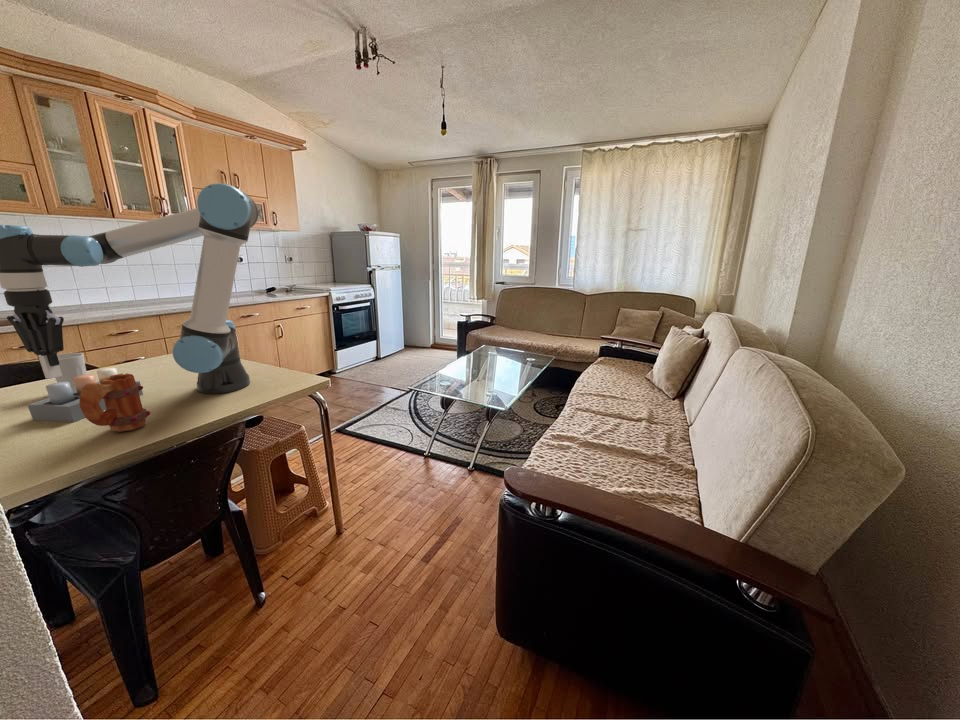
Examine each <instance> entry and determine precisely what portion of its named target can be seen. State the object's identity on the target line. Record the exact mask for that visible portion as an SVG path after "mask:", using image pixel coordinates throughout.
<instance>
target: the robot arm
mask: <svg viewBox="0 0 960 720" xmlns="http://www.w3.org/2000/svg"><path fill="white" fill-rule="evenodd" d="M196 201H197V202H196V204H197V205H196V206H197V208H193V209H189V210H184V211H181V212H176V213H173V214H169V215H165V216H162V217H158V218H154V219H150V220H146V221H142V222H139V223H135V224H132V225H128V226H123V227H120V228H116V229H112V230H108V231H105V232H100V233H96V234H93V235H85V236H84V235H75V234H73V235H70V234H69V235H67V234H65V235H64V234H63V235H60V234H59V235H58V234H36V233H35V234H34V233H33V232H32V229H31V228H30V227H29V226H26V225H13V224H10V225H9V224H0V287H1V288H2V289H3V290H5V291H4V292H3V295H4V298H5V301H6V305H8V306H10V307H14V310H13V311H14V314H13V315H8V316H6V320H7V321H8V322H9V323H10V324H11V325H12V326H13V328H14V329H15V332H16V333H17V336H18V337H19V339H20V341H21V343H22V344H23V346H24V347H25V349H26V351H27V352H28V353H33V354H34V355H36V357H37V359H38V362H39V365H40V366H41V369H42V372H43V375H44V377H45V379H49V380H52V379H56V378H55V377H59V376H62V373H61V370H60V366H59V360H58V357H57V355H58V353H59V352H63V351H64V349H65V348H64V336H63V335H64V333H63V323H64V321H65V320H64V318H65V317H63V316H56V314H53V310H52V309H51V307H50V306H49V305H51V304H52V303H53V299H52V296H51V292H50V290H48V289H47V287H48V283H47V281H46V280H47V279H46V275H45V274H44V270H43V266H45V267H46V266H55V267H57V266H58V267H59V266H63V267H64V266H65V267H95V266H99V265H106V264H111V263H114V262H116V261H118V260H120V259H123V258H127V257H131V256H135V255H139V254H141V253H145V252H148V251H152V250H156V249H160V248H163V247H167V246H170V245H175V244H178V243H182V242H185V241H189V240H192V239H195V238H200V237H202V236H203V240H202V246H201V252H200V258H199V264H198V269H197V270H198V271H197V276H196V281H195V287H194V288H195V289H194V293H193V300H192V306H191V310H190V315H189V316H190V317H189V318H188V319H186V320H184V321H182V324H181V330H180V336H179V339H178V340H177V341H176V342H175V343H174V346H173V347H172V357H173V359H174V361H175V363H176V364H177V365H178V366H180V368H182V369H183V370H185V371H187V372H190V373H195V374H198V375H197V381H196V389H197V392H199V393H200V394H205V395H207V394H208V395H209V394H210V395H212V394H213V395H214V394H215V395H216V394H224V393H230V392H234V391H238V390H241V389H244V388H245V387H247V386H248V385H250V383H251V378H250V375H249V374H248V372H247V370H246V369H245V367H244V366H243V363H242V362H241V361H242V360H241V355H240V349H239V344H238V338H237V332H236V331H237V328H236V326H235V323H234V321H232V320H230V319H228V313H229V309H230V308H229V307H230V303H231V298H232V293H233V286H234V281H235V275H236V271H237V265H238V261H239V255H240V250H241V249H240V248H241V246H242V245H244V244H246V243H248V242H249V241H248V240H249V237H250V231H251V228H253V227H254V226H255V224H256V223H257V222H258V219H259V209H258V206H257V204H256V202H255V201H254V200H253V198H252V197H251V196H250V195H249V194H248V193H245V192H244V191H242V190H241V189H239V188H238V187H235V186H233V185H231V184H227V183H217V182H216V183H211V184H208V185H206V186H204V187H203V188H202V189H201V190H200V192H199V193H198V196H197V199H196Z"/></svg>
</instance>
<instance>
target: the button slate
mask: <svg viewBox="0 0 960 720" xmlns="http://www.w3.org/2000/svg"><path fill="white" fill-rule="evenodd" d="M45 389H46V391H47V395H48V398H50V401H51V404H53V405H57V404H64V403H68V402H71V401H74V400H75V398H74V395H73V392H72V389H71V386H70V383H69V382H58V383H57V382H54V383H50V384H48V385H46V386H45Z"/></svg>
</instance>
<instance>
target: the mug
mask: <svg viewBox="0 0 960 720" xmlns="http://www.w3.org/2000/svg"><path fill="white" fill-rule="evenodd" d="M135 381H136V379H135V376H134V375H133V374H131V373H129V372H128V373H118V374H117V375H111V376H110V377H106V378H102V379H101V380H100V384H98V383H89V384H86V385H85V386H84V387H83V389H82V391H81V394H80V408H81V411H82V413H83V414H84V416H85V419H86V421H89V422H90V423H92V424H93V425H95V426H100V427H108V426H109V428H110V431H112V432H119V433H120V432H122V433H123V432H129V431H134V430H138V429H140V428H142V427H144V426H145V425H146V422H147V421H146V420H147V419H146V418H147V417H149V416H150V415H151V411H149V410H147V409H146V408H143V403H142V401H141V397H140V396H141V395H140V396H139V391H140V390H142V391H143V390H144V386H143V385H141V386H140V385H139V384H138V383H136V382H135ZM102 398H103V399H104V403H105V406H106V409H105V410H102V409H101V407H100V405H99V402H100V401H101V399H102Z"/></svg>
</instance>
